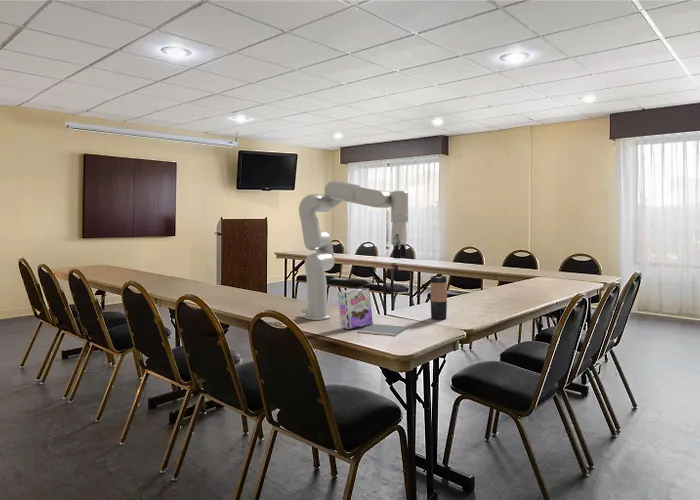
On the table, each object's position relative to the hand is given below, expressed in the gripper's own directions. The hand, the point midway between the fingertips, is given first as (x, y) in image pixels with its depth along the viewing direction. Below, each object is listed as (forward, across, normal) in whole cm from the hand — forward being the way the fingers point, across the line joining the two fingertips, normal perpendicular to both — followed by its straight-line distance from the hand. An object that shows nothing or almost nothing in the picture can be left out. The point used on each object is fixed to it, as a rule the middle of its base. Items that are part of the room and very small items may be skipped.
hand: (399, 257), depth 222 cm
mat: (+31, +11, -5) cm, 33 cm away
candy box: (+31, +9, -17) cm, 36 cm away
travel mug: (+31, -19, +14) cm, 39 cm away
